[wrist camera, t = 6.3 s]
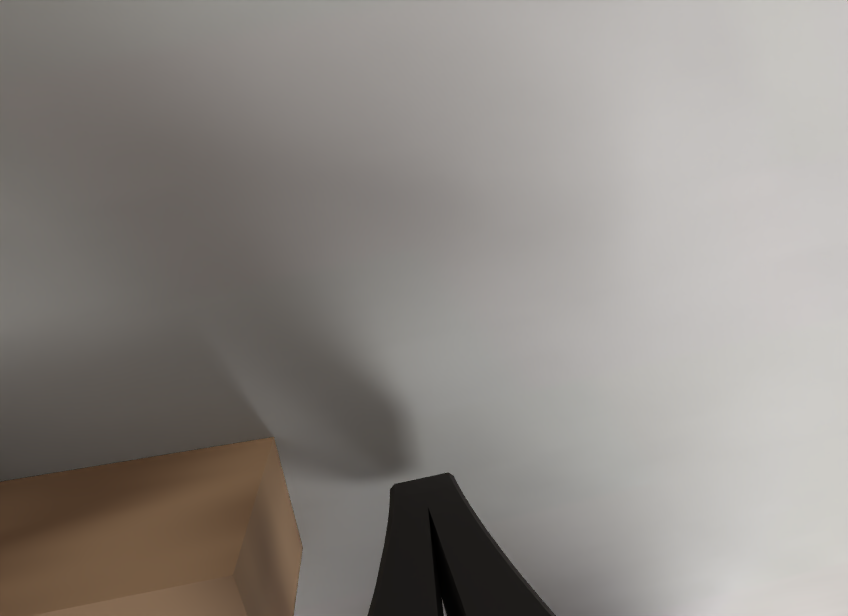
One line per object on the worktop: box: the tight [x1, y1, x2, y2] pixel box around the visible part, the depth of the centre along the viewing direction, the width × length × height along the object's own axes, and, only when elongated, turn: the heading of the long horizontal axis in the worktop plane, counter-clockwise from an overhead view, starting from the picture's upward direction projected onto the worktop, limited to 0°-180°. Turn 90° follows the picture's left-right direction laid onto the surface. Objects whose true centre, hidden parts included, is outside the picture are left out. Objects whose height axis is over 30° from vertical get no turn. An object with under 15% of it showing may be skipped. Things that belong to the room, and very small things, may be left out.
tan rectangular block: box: [0, 437, 303, 616], centre depth 8 cm, size 10×4×4 cm, turn 94°
